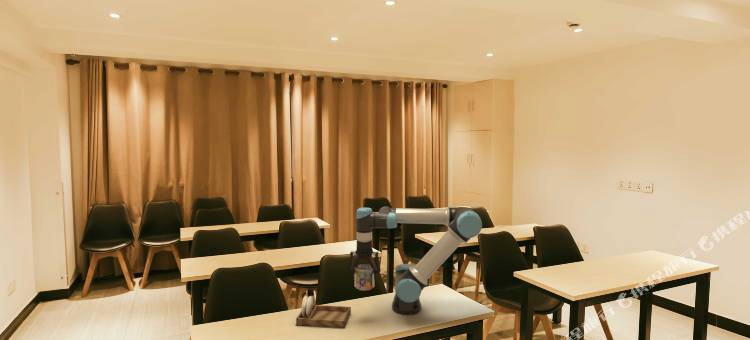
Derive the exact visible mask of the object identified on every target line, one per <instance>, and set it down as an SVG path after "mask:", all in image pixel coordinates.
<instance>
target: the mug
mask: <svg viewBox="0 0 750 340" xmlns="http://www.w3.org/2000/svg"><path fill="white" fill-rule="evenodd" d="M354 267H355V266H354ZM373 269H374V267H373V268H371V266H370V264H363V263H362V264H358V266H357V268H356V267H355V270H356V271H355V272H356V273H357V284H356V286H355V285H354V287H355V289H357V290H358V291H370V290H372V289H373V286H372V274H373Z"/></svg>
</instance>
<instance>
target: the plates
mask: <svg viewBox="0 0 750 340" xmlns="http://www.w3.org/2000/svg"><path fill="white" fill-rule="evenodd" d="M313 305H314V299H313V296H312V295H310V296H307V295H304V296H303V299H302V302H301V310H300V312H301V311H302V317H306V315H307V317H308V318H309V316H310V313H312V310H313Z"/></svg>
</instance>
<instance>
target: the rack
mask: <svg viewBox="0 0 750 340" xmlns="http://www.w3.org/2000/svg"><path fill="white" fill-rule="evenodd" d="M351 309H352V308H351V306H341V305H322V304H313V310H312V313H310V316H309V318H308V317H307V315H306V317H302V311H301V310H300V312H299V314H298V315H297V317H296V318H295V319H296V320H295V322H296V323H295V325H296V326H297V327H309V328H311V327H312V328H329V329H331V328H332V329H346V326H347V324H348V322H349V319H350V316H351V314H352V313H351V312H352V310H351Z"/></svg>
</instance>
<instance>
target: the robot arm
mask: <svg viewBox="0 0 750 340" xmlns="http://www.w3.org/2000/svg"><path fill="white" fill-rule="evenodd" d="M355 218H356V219H355V220H356V249H355V250H351V251H350V252H349V254H350V259H349V266H348V272H349V273H351V274H352V275H351V277H352V280H354V287H355V286H356V284H357V273H356V270H355V267H356V268H357V266H358V265H360V262H361V260H362V261H363V260H367V262H368V264H369V265H370V266H371V268H373V267H374V269H373V271H372V275H371V282H372V286H373V288H375V286H376V285H375V281H377V279H378V278H377V277H378V274H380V273H381V265H380V260H379V255H380V253H379V251H374V249H373V229H396V228H397V227H398V224H418V225H419V224H420V225H421V224H423V225H425V224H427V225H445V226H446V227H447V231H446V232H445V233H444V234H443V235H442V237H440V238H439V240H438V241H437V242H436V243H435V244H434V245H433V246H432V247H431V248H430V249H429V251H428V252H427V253H425V255H424V256H423V257H422V258H421V259H420V260H419V261H418V263H417V264H413V263H411V264H410V263H402V264H397V265H396V266H395V271H394V272H395V293H394V297H393V300H392V303H391V310H392V311H393V312H394V313H397V314H401V315H416V314H419V313H420V312H421V311H422V304H421V301H420V296H421V294H422V291H423V290H424V289H425V288H426V287H427V286H428V279H430V277H432V275H434V274H435V272H437V270H438V269H439V268H440V267H441V266H442V265H443V264H444V263H445V262H446V260H447V259H448V258H450V256H451V255H452V254H453V253H454V252H455V251H456V250H457V248H459V246H461V244H467V243H468V241H470V240H471V239H473V238H475V237H477V236H478V235H479V234H480V233H481V231H482V228H483V222H482V219H481V217H480V216H479V214H478V213H477V212H476V211H474V210H473V209H472V208H470V207H467V206H451V207H450V206H449V207H448V206H447V207H446V208H410V207H409V208H407V207H403V208H401V207H400V208H399V207H389V206H383V207H381V208H379V210H378V212H374V211H373V209H372V207H371V208H370V207H358V208H357V209H356V216H355ZM355 255H356V256H357V257H358V258H357V260H356V262H355V265H354V264H353V263H354V259H355V258H354V257H355ZM372 255H373V256H374V258H375V259H374V260H375V263H374V262H373V260H372V257H371V256H372ZM375 264H376V267H375ZM353 265H354V267H353ZM373 288H372V289H373Z"/></svg>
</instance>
